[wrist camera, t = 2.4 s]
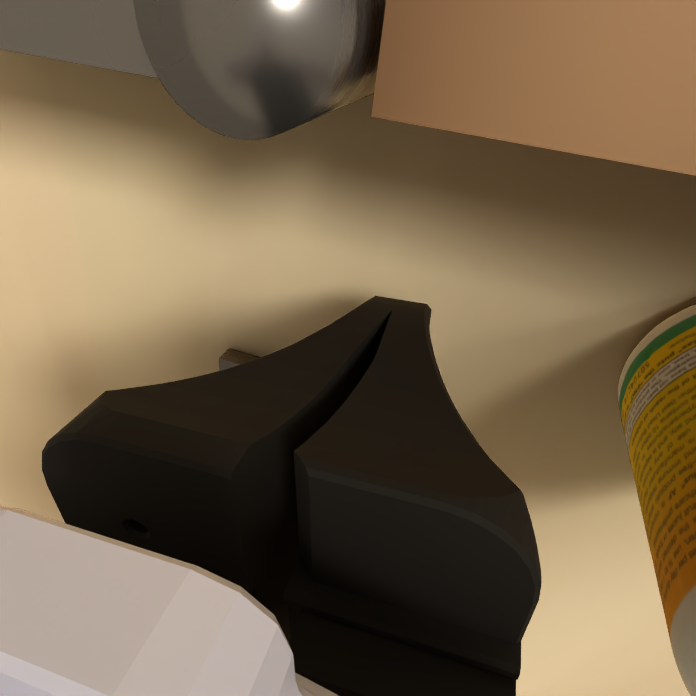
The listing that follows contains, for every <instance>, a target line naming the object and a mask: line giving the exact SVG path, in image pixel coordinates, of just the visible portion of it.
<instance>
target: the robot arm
mask: <svg viewBox="0 0 696 696" xmlns="http://www.w3.org/2000/svg"><path fill="white" fill-rule="evenodd" d="M430 317H431V308H430V307H429V306H428V305H427V304H422V303H416V302H410V301H404V300H397V299H391V298H385V297H379V296H375V297H373V298H371V299H370V300H368V301H366V302H365V303H363V304H362V305H360V306H359V307H357V308H356V309H354V310H353V311H351V312H350V313H348V314H346V315H345V316H343V317H341V318H340V319H338V320H337V321H335V322H333V323H332V324H330V325H329V326H327V327H325V328H323V329H321V330H319V331H318V332H316V333H314V334H312V335H310V336H308V337H306V338H305V339H303V340H301V341H299V342H297V343H295V344H293V345H291V346H289V347H286V348H284V349H282V350H279V351H277V352H275V353H272V354H270V355H267V356H265V357H262V358H259V359H257V360H254V361H251V362H247V363H244V364H241V365H238V366H235V367H231V368H228V369H225V370H222V371H218V372H215V373H211V374H206V375H202V376H198V377H194V378H189V379H184V380H179V381H175V382H169V383H163V384H157V385H150V386H143V387H135V388H128V389H121V390H112V391H105V392H104V393H103V394H102V395H101V396H99V397H98V398H97V399H96V400H95V401H94V402H93V403H91V404H90V405H89V406H88V407H87V408H86V409H84V410H83V411H82V412H81V413H80V414H79V415H78V416H76V417H75V418H74V419H73V420H72V421H71V422H69V423H68V424H67V425H66V426H65V427H64V428H63V429H61V430H60V431H59V432H58V433H57V434H56V435H54V436H53V437H52V438H51V439H50V440H49V441H48V442H47V444H46V446H45V448H44V449H43V451H42V471H43V474H44V477H45V480H46V483H47V486H48V488H49V490H50V492H51V494H52V496H53V498H54V500H55V502H56V504H57V507H58V509H59V511H60V513H61V515H62V517H63V519H64V521H65V523H66V524H65V523H62V522H59V521H56V520H53V519H50V518H46V517H43V516H40V515H37V514H34V513H31V512H28V511H25V510H21V509H17V508H9V507H0V696H516V680H517V679H518V677H519V675H520V668H521V640H522V637H523V635H524V633H525V630H526V628H527V626H528V624H529V621H530V619H531V617H532V615H533V612H534V610H535V608H536V605H537V603H538V601H539V595H540V589H541V568H540V562H539V555H538V549H537V544H536V539H535V534H534V530H533V526H532V522H531V519H530V515H529V512H528V508H527V505H526V502H525V499H524V496H523V493H522V492H521V490H520V489H519V488H518V487H517V486H516V485H515V484H514V483H513V482H512V481H511V480H510V479H509V478H508V477H507V476H506V475H505V474H504V473H503V472H502V471H501V470H500V469H499V467H498V466H497V465H496V464H495V463H494V462H493V461H492V460H491V459H490V458H489V457H488V455H487V454H486V453H485V452H484V450H483V449H482V448H481V447H480V445H479V444H478V442H477V441H476V439H475V438H474V436H473V435H472V433H471V432H470V430H469V429H468V427H467V426H466V424H465V423H464V421H463V420H462V418H461V417H460V415H459V413H458V411H457V410H456V408H455V406H454V404H453V402H452V400H451V398H450V396H449V394H448V392H447V390H446V387H445V385H444V383H443V380H442V378H441V375H440V372H439V369H438V366H437V363H436V360H435V356H434V352H433V348H432V343H431V338H430V331H429V324H430Z"/></svg>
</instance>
